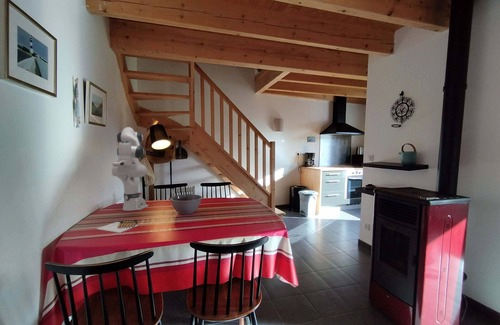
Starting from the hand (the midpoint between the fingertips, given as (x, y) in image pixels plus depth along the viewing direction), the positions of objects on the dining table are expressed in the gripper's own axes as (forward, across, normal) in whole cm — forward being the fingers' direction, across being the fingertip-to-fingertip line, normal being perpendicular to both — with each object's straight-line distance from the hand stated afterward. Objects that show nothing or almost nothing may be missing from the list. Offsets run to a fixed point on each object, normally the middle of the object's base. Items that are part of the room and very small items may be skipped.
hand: (125, 181), depth 179 cm
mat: (+29, +16, +10) cm, 35 cm away
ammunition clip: (+28, +7, +10) cm, 30 cm away
